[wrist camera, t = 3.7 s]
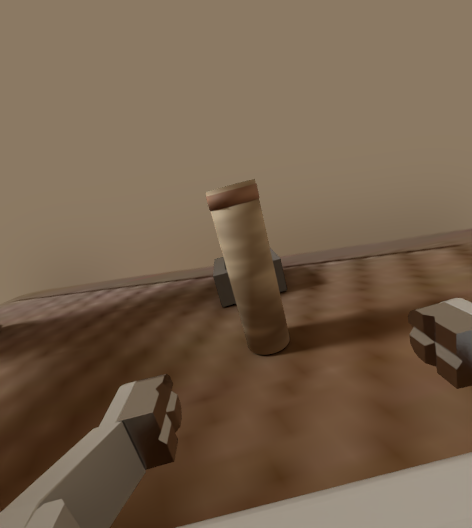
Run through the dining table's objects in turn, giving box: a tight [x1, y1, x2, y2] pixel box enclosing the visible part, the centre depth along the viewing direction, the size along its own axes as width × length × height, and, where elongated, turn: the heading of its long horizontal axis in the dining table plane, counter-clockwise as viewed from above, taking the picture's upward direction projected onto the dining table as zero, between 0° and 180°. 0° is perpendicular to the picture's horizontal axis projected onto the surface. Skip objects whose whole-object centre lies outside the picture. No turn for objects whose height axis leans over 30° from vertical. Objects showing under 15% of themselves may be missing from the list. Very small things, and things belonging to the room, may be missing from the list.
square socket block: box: [213, 248, 287, 307], centre depth 34 cm, size 8×8×4 cm
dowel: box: [206, 179, 290, 355], centre depth 20 cm, size 4×4×13 cm
